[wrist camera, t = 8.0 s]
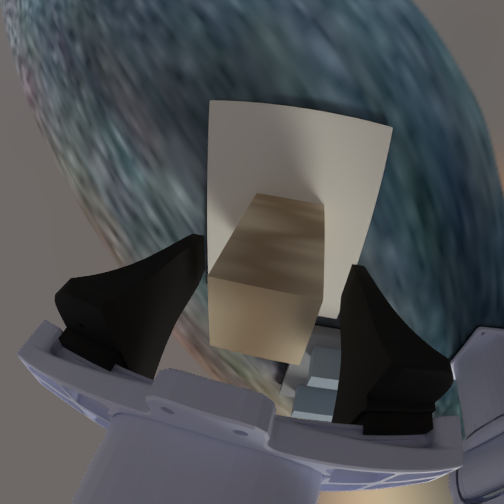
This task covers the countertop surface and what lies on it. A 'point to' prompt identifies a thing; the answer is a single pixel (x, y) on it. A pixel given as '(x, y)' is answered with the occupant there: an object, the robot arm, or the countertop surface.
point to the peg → (269, 280)
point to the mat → (296, 175)
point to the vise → (315, 376)
